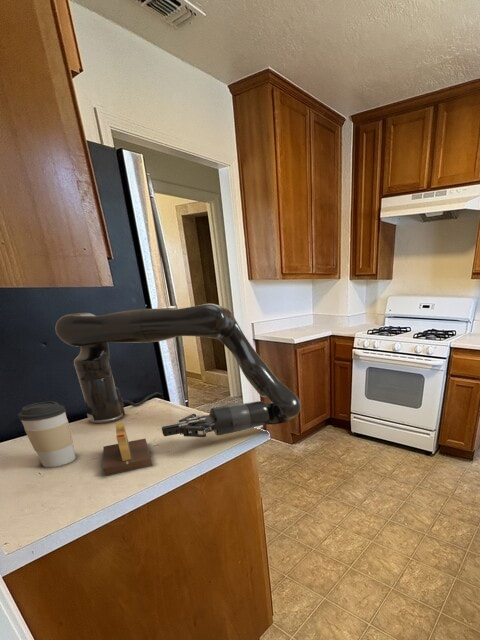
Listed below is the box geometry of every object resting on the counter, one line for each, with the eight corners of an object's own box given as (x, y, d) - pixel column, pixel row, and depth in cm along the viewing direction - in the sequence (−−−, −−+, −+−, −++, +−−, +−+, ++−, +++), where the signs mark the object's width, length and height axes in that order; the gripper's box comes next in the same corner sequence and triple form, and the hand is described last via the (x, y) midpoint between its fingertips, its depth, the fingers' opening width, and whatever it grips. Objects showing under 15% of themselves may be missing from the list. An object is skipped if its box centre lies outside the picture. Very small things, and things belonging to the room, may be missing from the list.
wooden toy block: (121, 444, 92) (115, 422, 90) (128, 443, 93) (123, 421, 91) (122, 461, 83) (116, 437, 81) (131, 459, 84) (125, 435, 82)
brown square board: (93, 454, 92) (91, 447, 91) (157, 442, 99) (155, 435, 98) (91, 480, 79) (89, 471, 79) (164, 463, 86) (162, 455, 86)
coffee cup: (44, 456, 91) (23, 401, 85) (84, 450, 94) (67, 396, 88) (31, 472, 83) (8, 412, 78) (75, 465, 86) (56, 407, 81)
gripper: (222, 399, 100) (156, 410, 92) (236, 412, 89) (163, 426, 81) (225, 424, 103) (162, 436, 95) (239, 439, 92) (169, 455, 84)
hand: (162, 431), depth 88 cm, fingers closed
